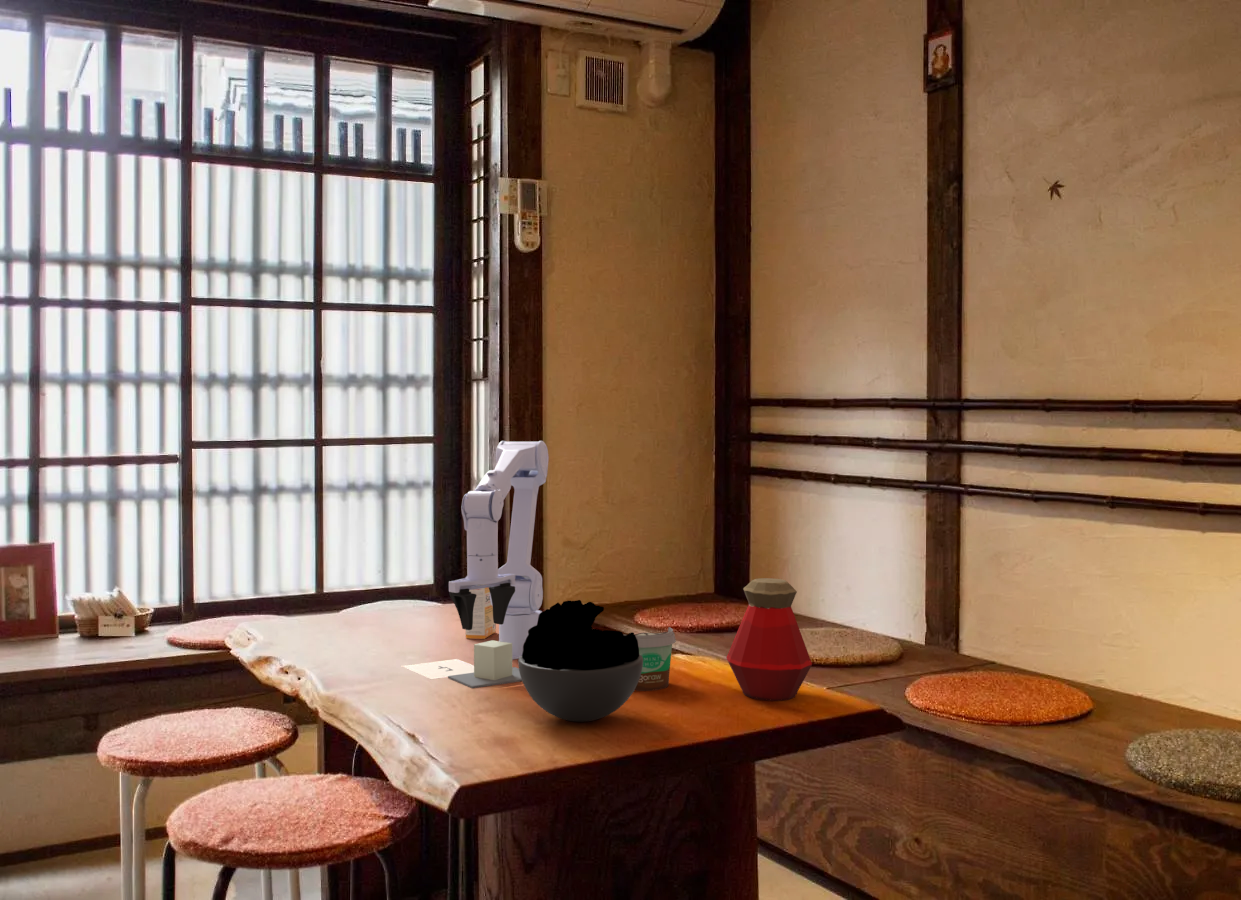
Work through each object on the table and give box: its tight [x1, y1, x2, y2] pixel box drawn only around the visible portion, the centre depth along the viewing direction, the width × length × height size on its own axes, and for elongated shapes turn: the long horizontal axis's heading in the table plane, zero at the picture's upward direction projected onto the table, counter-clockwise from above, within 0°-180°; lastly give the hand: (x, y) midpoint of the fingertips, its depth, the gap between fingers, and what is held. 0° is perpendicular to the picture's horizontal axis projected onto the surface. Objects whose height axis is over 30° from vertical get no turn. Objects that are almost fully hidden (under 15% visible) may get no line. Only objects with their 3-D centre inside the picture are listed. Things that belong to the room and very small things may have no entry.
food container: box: [623, 626, 677, 692], centre depth 209 cm, size 12×6×10 cm, turn 117°
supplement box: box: [465, 584, 497, 640], centre depth 260 cm, size 8×5×13 cm, turn 168°
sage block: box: [473, 639, 513, 680], centre depth 216 cm, size 5×5×6 cm
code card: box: [401, 658, 474, 680], centre depth 225 cm, size 12×14×1 cm
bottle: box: [726, 577, 813, 702], centre depth 203 cm, size 16×14×20 cm
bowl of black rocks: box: [517, 599, 643, 723], centre depth 186 cm, size 20×20×19 cm
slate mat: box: [447, 666, 522, 689], centre depth 216 cm, size 14×10×1 cm
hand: (483, 626), depth 219 cm, fingers open, 7 cm apart
